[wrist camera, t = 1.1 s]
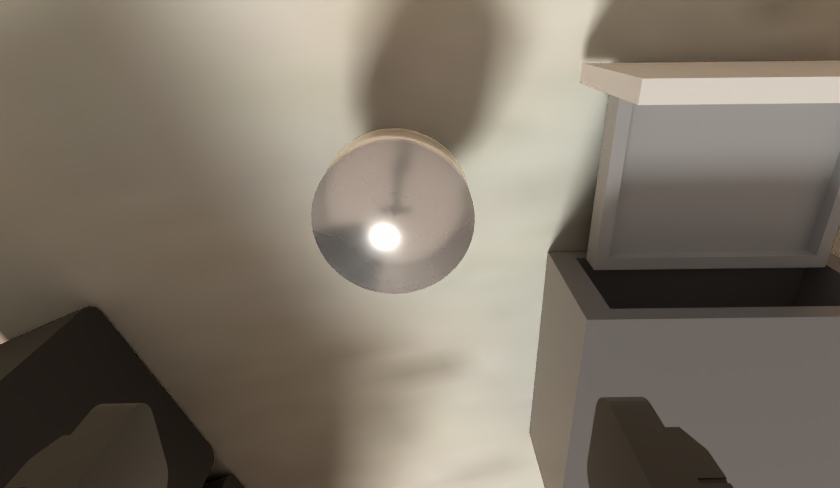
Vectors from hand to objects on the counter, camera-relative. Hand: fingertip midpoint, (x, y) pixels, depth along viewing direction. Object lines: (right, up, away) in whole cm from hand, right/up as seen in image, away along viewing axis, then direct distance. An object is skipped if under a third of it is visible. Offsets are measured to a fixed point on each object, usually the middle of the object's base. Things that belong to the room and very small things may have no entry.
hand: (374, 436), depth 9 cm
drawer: (+14, +7, +14) cm, 21 cm away
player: (+14, -2, +19) cm, 24 cm away
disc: (0, +5, +12) cm, 13 cm away
